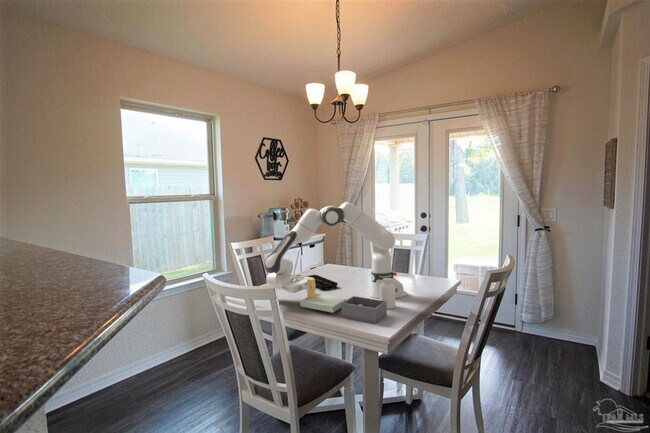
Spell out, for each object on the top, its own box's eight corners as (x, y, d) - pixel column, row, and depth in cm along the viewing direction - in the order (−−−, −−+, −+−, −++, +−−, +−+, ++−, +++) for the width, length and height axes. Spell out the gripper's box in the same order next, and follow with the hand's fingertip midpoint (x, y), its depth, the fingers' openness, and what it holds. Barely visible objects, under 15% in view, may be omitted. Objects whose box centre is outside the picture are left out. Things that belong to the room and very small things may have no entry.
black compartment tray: (313, 279, 250) (313, 273, 250) (344, 286, 229) (344, 281, 228) (294, 283, 238) (293, 278, 238) (324, 292, 216) (324, 286, 216)
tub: (386, 315, 175) (386, 301, 174) (375, 323, 163) (375, 308, 163) (353, 309, 184) (353, 296, 183) (341, 317, 173) (341, 302, 172)
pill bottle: (393, 304, 191) (393, 276, 190) (396, 309, 183) (396, 280, 182) (378, 304, 191) (378, 277, 190) (381, 309, 183) (381, 280, 182)
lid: (346, 304, 187) (346, 280, 186) (332, 312, 174) (332, 286, 173) (315, 298, 197) (315, 275, 196) (300, 306, 184) (300, 281, 183)
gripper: (279, 282, 186) (301, 285, 179) (302, 274, 204) (322, 276, 197) (279, 293, 187) (301, 297, 180) (302, 284, 204) (322, 288, 197)
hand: (312, 286), depth 188 cm, fingers closed on lid, 3 cm apart
